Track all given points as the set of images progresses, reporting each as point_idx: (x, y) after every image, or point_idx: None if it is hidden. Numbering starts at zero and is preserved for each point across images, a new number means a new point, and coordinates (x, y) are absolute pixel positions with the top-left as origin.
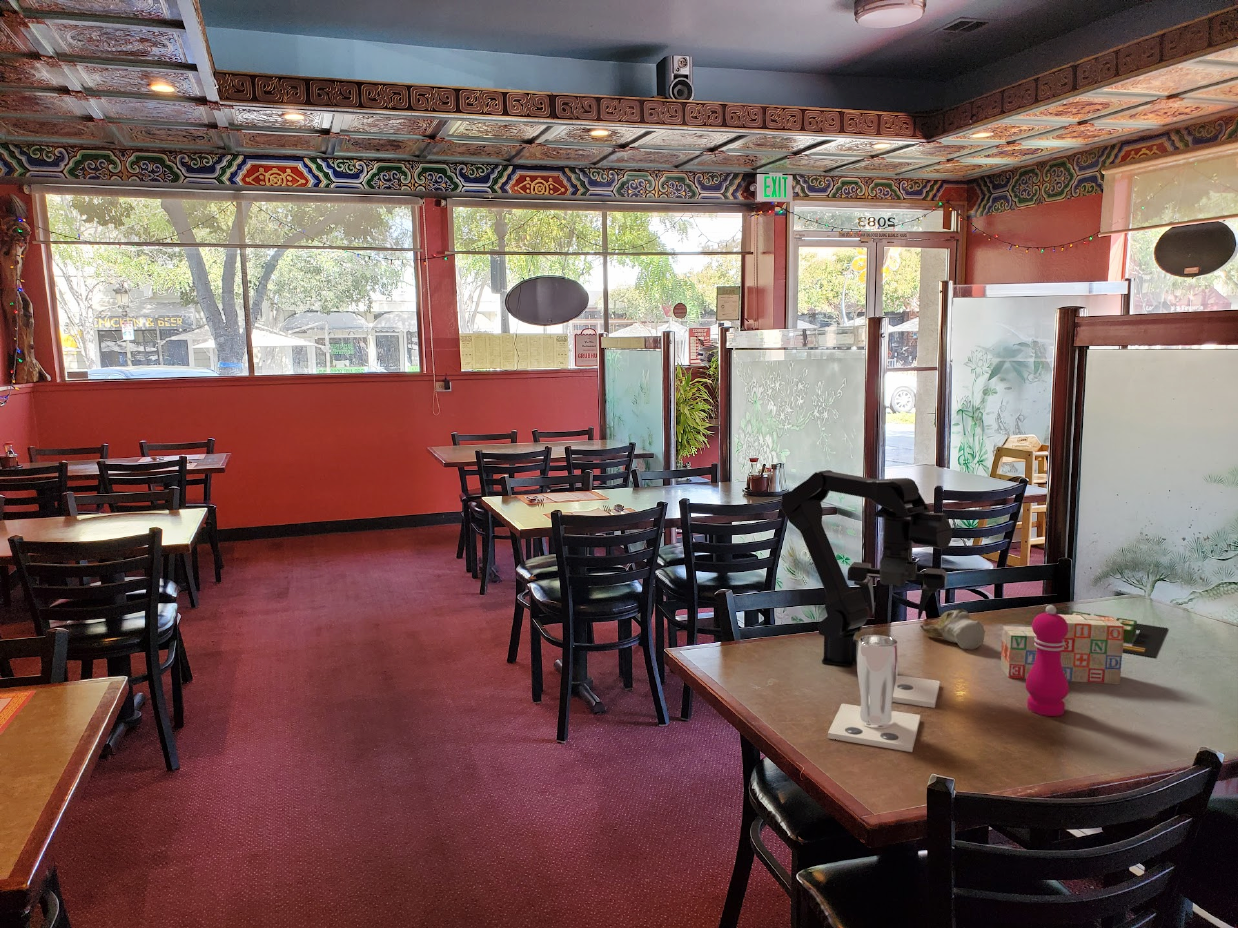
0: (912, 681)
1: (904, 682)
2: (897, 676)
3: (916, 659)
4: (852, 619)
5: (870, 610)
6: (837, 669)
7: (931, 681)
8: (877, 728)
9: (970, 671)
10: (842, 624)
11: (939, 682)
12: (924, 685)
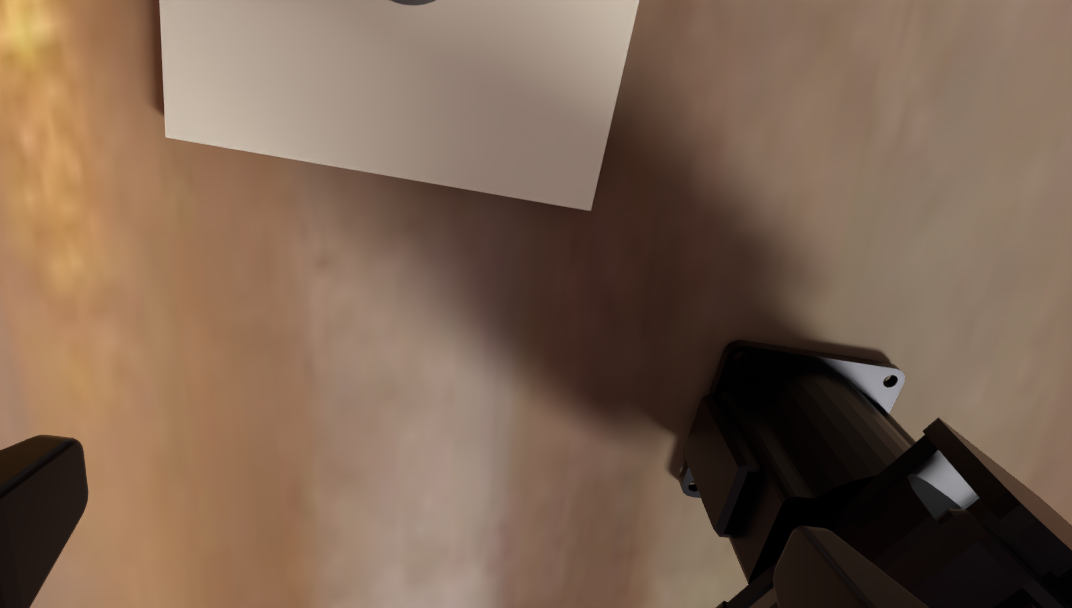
0: (355, 82)
1: (413, 47)
2: (460, 166)
3: (349, 527)
4: (926, 555)
5: (866, 564)
6: (821, 290)
7: (221, 112)
8: None
9: (33, 418)
10: (1006, 486)
11: (165, 109)
12: (265, 14)
